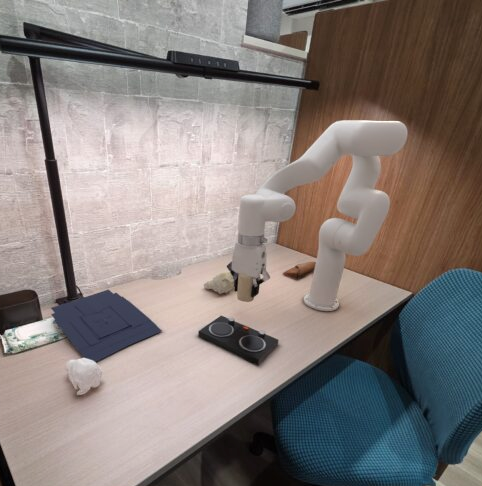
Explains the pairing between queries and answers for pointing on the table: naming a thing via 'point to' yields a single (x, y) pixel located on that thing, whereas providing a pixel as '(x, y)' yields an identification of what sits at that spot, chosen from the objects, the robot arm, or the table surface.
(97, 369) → the crumpled paper
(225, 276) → the cream lumpy piece
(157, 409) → the table surface
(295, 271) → the sunglasses case
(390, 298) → the table surface
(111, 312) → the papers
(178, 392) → the table surface
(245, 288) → the candle
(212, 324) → the hot plate
